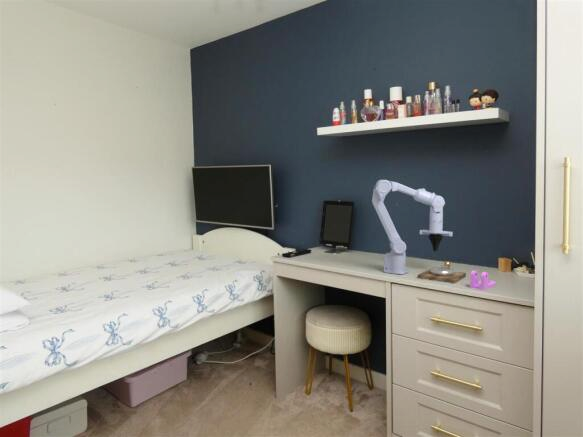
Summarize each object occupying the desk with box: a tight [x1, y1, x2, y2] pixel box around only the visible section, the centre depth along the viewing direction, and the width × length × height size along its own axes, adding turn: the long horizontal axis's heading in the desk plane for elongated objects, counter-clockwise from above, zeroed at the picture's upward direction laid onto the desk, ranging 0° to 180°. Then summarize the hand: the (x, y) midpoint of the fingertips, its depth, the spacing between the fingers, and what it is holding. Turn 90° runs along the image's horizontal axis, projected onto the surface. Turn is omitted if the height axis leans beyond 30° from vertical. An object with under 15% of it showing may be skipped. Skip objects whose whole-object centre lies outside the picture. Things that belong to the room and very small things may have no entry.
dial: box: [429, 261, 455, 276], centre depth 191 cm, size 13×10×4 cm
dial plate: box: [417, 268, 467, 284], centre depth 190 cm, size 16×16×2 cm
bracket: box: [469, 269, 497, 291], centre depth 173 cm, size 13×6×7 cm, turn 132°
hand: (435, 250), depth 198 cm, fingers closed
